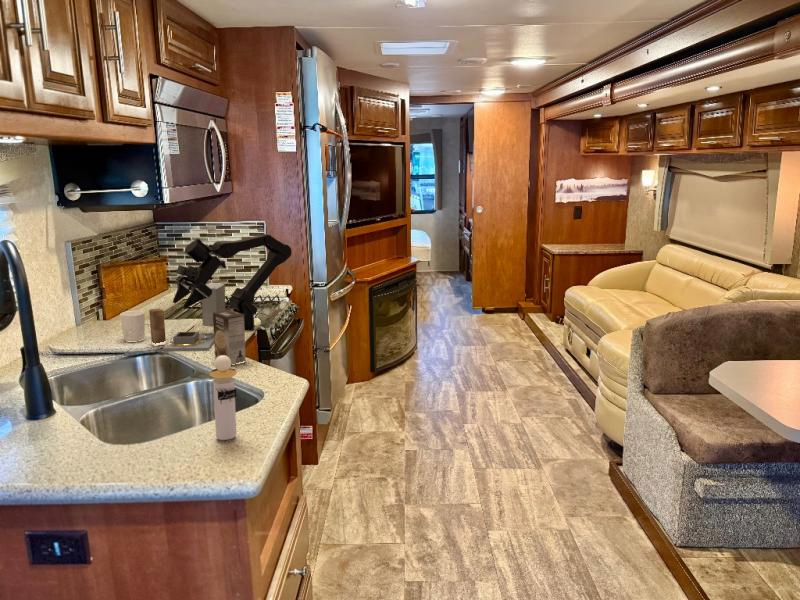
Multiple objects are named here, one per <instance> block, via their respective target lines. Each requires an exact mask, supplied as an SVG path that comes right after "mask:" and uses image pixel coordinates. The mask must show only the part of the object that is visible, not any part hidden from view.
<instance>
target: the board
mask: <svg viewBox="0 0 800 600" xmlns="http://www.w3.org/2000/svg"><path fill="white" fill-rule="evenodd" d="M199 335H200V333H199ZM200 341H204V343H199V344H198V346H195V347H194V346H189V347H185V348H181V347H178V346H175V347H172V346H171V344H170V345H167V346H165V345H163V347H162V352H186V351H187V352H191V351H192V352H195V351H196V352H197V351H201V352H203V351H205V352H206V351H207V352H209V351H210V350H211V348H212V346H213V345H214V338H210V340H207V339H202V340H200Z"/></svg>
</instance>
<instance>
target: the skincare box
mask: <svg viewBox="0 0 800 600" xmlns="http://www.w3.org/2000/svg"><path fill="white" fill-rule="evenodd" d="M206 285H207V286H208V287H209V288H210V289H212V295H211V296H210V297H207V298H206V299H203V300H201V309H202V310H201V311H202V312H201V313H202V314H201V315H202V316H201V318H202V319H201V321H202V323H201V324H202V326H209V327H214V326H213V313H214V312H219V311H225V310H226V284H224V283H216V282H210V283H207V284H206ZM205 297H206V296H205Z"/></svg>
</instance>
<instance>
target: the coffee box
mask: <svg viewBox="0 0 800 600" xmlns="http://www.w3.org/2000/svg"><path fill="white" fill-rule="evenodd" d="M212 327H213V333H214V343H213V345H214V361H215V360H216V358H217V357H218V356H221V355H225V356H228V357H229V358H230V360H231V365H232V364H236V363H239V362H243V361H246V333H245V331H246V330H245V327H244V314H241V313H238V312H235V311H234V310H232V309H225V311H219V312H214V313H213V326H212ZM246 362H247V361H246Z"/></svg>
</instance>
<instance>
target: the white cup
mask: <svg viewBox="0 0 800 600" xmlns="http://www.w3.org/2000/svg"><path fill="white" fill-rule="evenodd" d="M119 315H120V322H121V330H122V334H123V341H124V340H125V341H139V340H142V339H144V338H145V335H146V333H145V332H146V322H145V321H146V317H145V311H143V310H129V311H128V310H127V311H123V312H121V313H120V314H119ZM145 339H146V338H145ZM145 339H144V340H145ZM125 341H124V342H125Z"/></svg>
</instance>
